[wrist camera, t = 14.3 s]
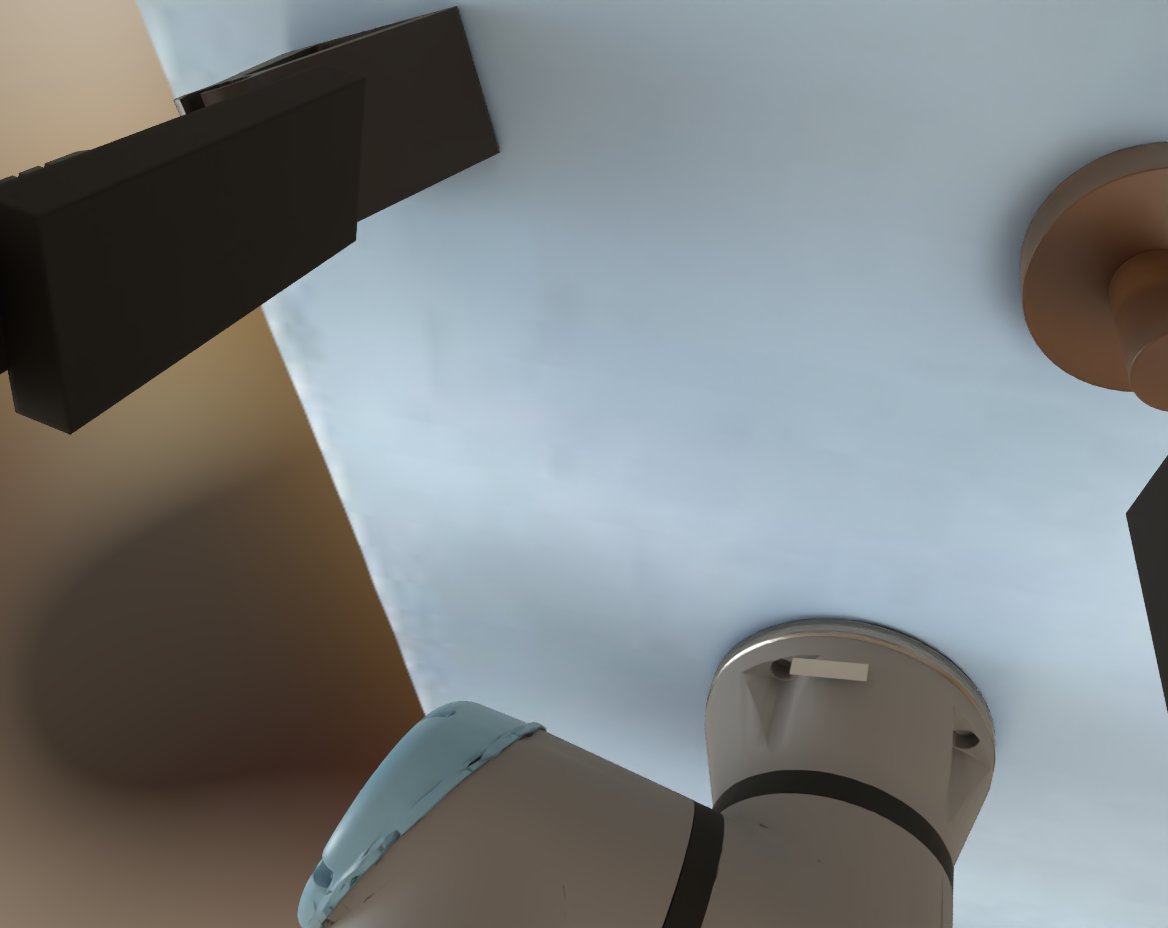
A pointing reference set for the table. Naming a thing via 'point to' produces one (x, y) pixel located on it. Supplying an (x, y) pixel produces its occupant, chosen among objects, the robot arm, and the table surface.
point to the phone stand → (394, 102)
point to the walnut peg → (1104, 274)
